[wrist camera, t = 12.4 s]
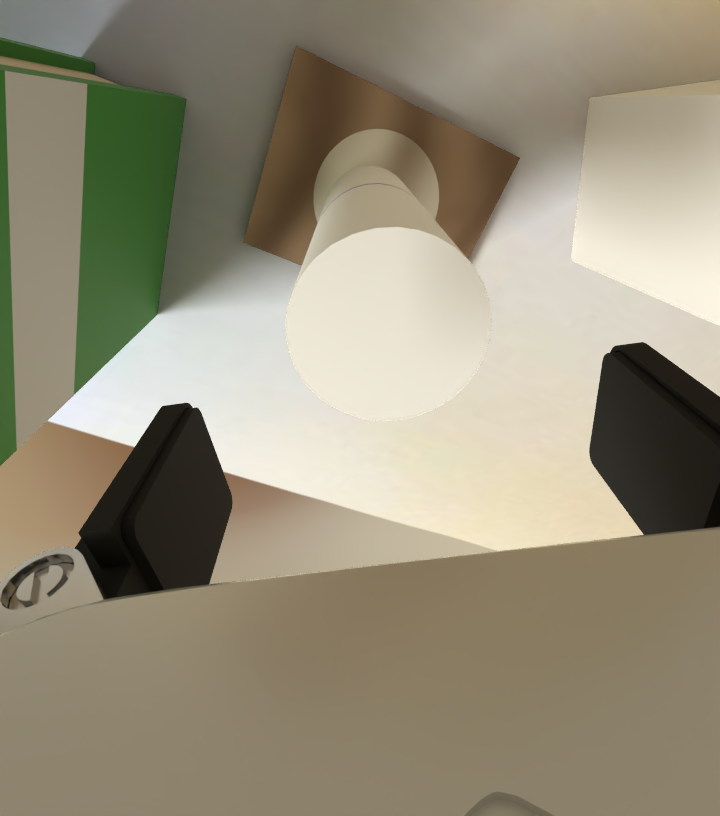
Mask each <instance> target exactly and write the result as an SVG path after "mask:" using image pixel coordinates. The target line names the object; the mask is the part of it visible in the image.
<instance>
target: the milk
mask: <svg viewBox="0 0 720 816" xmlns="http://www.w3.org/2000/svg"><path fill="white" fill-rule="evenodd" d="M571 261H573V262H576V263H578V264H580V265H582V266H585V267H587V268H589V269H592V270H594V271H596V272H598V273H601V274H603V275H605V276H607V277H610V278H612V279H614V280H616V281H619V282H621V283H623V284H625V285H628V286H630V287H632V288H634V289H637V290H639V291H641V292H643V293H646V294H648V295H650V296H653V297H655V298H657V299H659V300H662V301H664V302H666V303H668V304H671V305H673V306H675V307H677V308H680V309H682V310H684V311H686V312H689V313H691V314H693V315H695V316H698V317H700V318H702V319H704V320H707V321H709V322H711V323H714V324H717V325H720V80H714V81H706V82H699V83H692V84H685V85H678V86H670V87H663V88H656V89H649V90H642V91H634V92H627V93H620V94H613V95H606V96H598V97H591V98H589V107H588V115H587V124H586V133H585V141H584V150H583V159H582V167H581V176H580V185H579V194H578V202H577V211H576V220H575V228H574V237H573V246H572V255H571Z"/></svg>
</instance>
